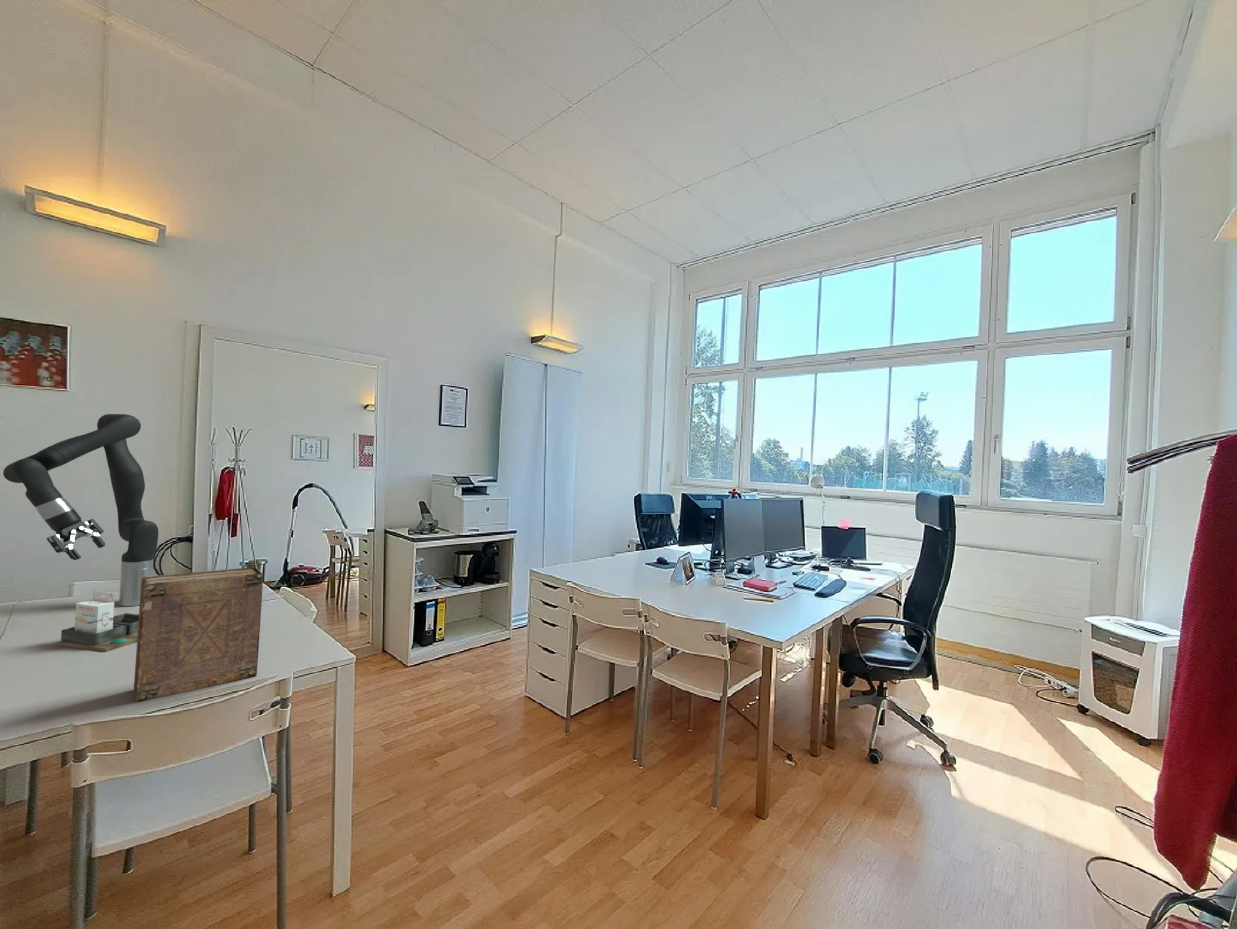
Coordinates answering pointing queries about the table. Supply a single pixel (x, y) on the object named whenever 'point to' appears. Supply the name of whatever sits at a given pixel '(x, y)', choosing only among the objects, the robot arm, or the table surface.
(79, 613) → the ink cartridge box
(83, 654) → the table surface
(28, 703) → the table surface
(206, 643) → the book
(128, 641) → the socket board
